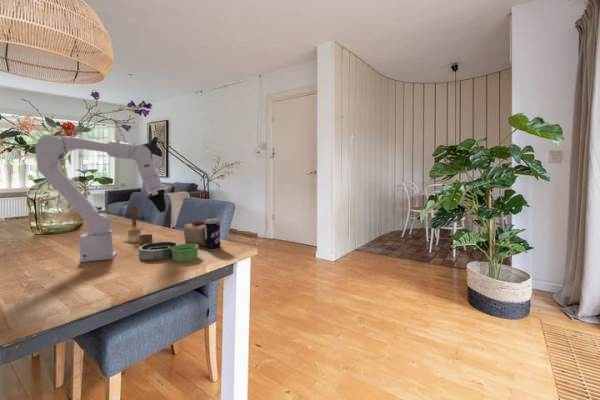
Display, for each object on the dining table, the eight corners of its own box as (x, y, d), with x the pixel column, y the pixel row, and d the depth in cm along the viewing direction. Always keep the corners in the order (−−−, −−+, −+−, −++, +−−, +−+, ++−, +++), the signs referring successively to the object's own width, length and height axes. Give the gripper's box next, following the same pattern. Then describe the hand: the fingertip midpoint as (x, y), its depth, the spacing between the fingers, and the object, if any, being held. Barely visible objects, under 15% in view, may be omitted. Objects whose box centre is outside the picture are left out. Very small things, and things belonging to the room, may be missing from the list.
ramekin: (178, 264, 97) (178, 251, 96) (167, 259, 103) (166, 247, 103) (203, 258, 104) (203, 246, 103) (191, 253, 110) (190, 242, 109)
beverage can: (211, 252, 111) (210, 221, 110) (202, 249, 114) (201, 219, 113) (223, 249, 116) (222, 219, 114) (214, 246, 119) (213, 217, 118)
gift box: (181, 243, 124) (180, 220, 123) (196, 239, 131) (195, 218, 130) (203, 248, 117) (202, 223, 116) (218, 243, 124) (217, 220, 123)
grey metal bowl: (137, 262, 99) (136, 252, 99) (141, 252, 111) (140, 243, 110) (179, 257, 104) (178, 248, 104) (178, 248, 116) (178, 240, 116)
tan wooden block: (139, 251, 112) (138, 235, 111) (140, 250, 114) (139, 234, 113) (152, 250, 114) (151, 234, 113) (153, 249, 115) (152, 233, 115)
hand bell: (136, 237, 135) (133, 203, 133) (149, 239, 132) (147, 204, 130) (119, 242, 127) (117, 205, 125) (133, 243, 124) (131, 206, 123)
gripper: (160, 174, 106) (173, 209, 109) (161, 172, 119) (173, 203, 122) (139, 180, 103) (153, 216, 107) (143, 177, 116) (155, 209, 120)
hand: (163, 209), depth 114 cm, fingers open, 7 cm apart
